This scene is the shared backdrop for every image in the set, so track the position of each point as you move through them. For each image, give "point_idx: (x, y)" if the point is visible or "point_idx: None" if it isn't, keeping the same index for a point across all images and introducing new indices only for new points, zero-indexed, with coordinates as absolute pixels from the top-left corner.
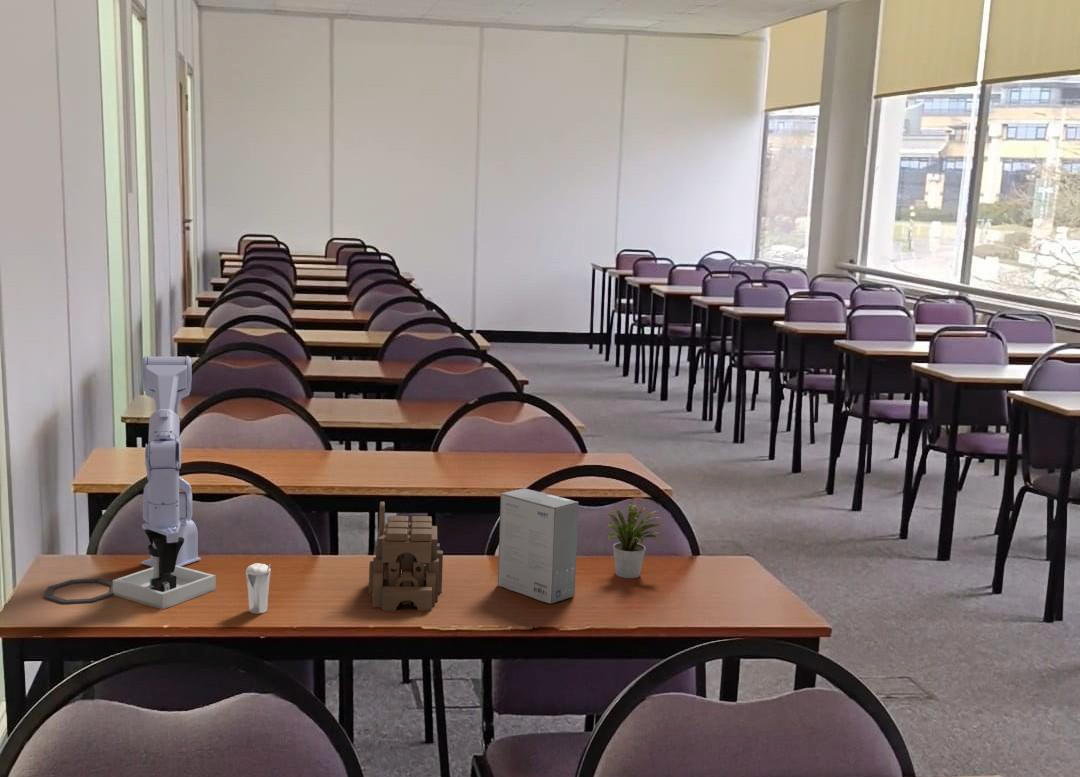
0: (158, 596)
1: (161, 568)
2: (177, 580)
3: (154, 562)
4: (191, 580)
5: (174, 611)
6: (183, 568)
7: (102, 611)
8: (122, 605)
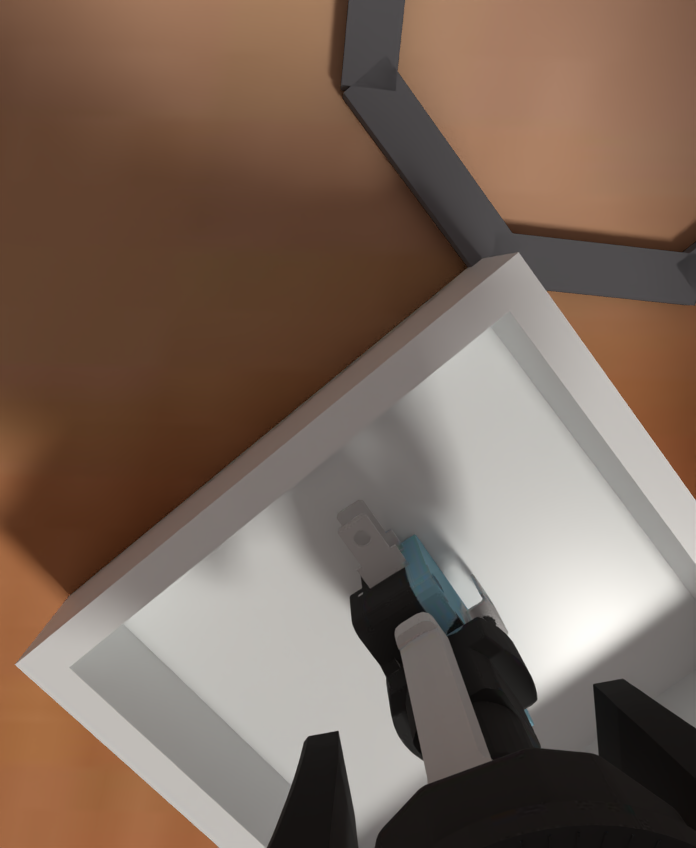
0: (63, 618)
1: (304, 767)
2: None
3: (450, 726)
4: None
5: None
6: None
7: (106, 167)
8: (218, 325)
